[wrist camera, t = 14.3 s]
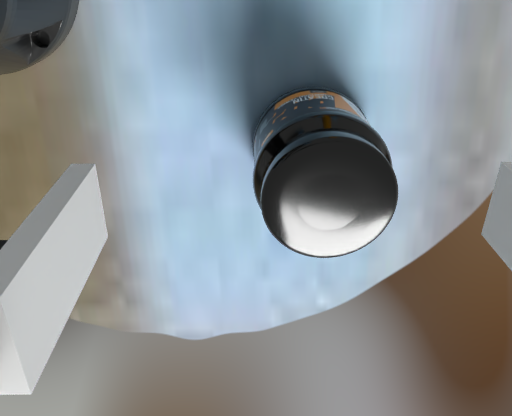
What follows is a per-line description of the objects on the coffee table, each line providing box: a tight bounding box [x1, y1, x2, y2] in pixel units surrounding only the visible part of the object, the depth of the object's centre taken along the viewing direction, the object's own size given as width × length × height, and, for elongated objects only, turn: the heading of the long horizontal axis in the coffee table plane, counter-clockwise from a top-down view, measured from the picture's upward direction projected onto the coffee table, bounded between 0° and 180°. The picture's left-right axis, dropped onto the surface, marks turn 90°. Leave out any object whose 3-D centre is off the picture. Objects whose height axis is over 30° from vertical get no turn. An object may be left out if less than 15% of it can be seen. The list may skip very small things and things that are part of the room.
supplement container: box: [253, 87, 398, 258], centre depth 38 cm, size 10×10×12 cm
